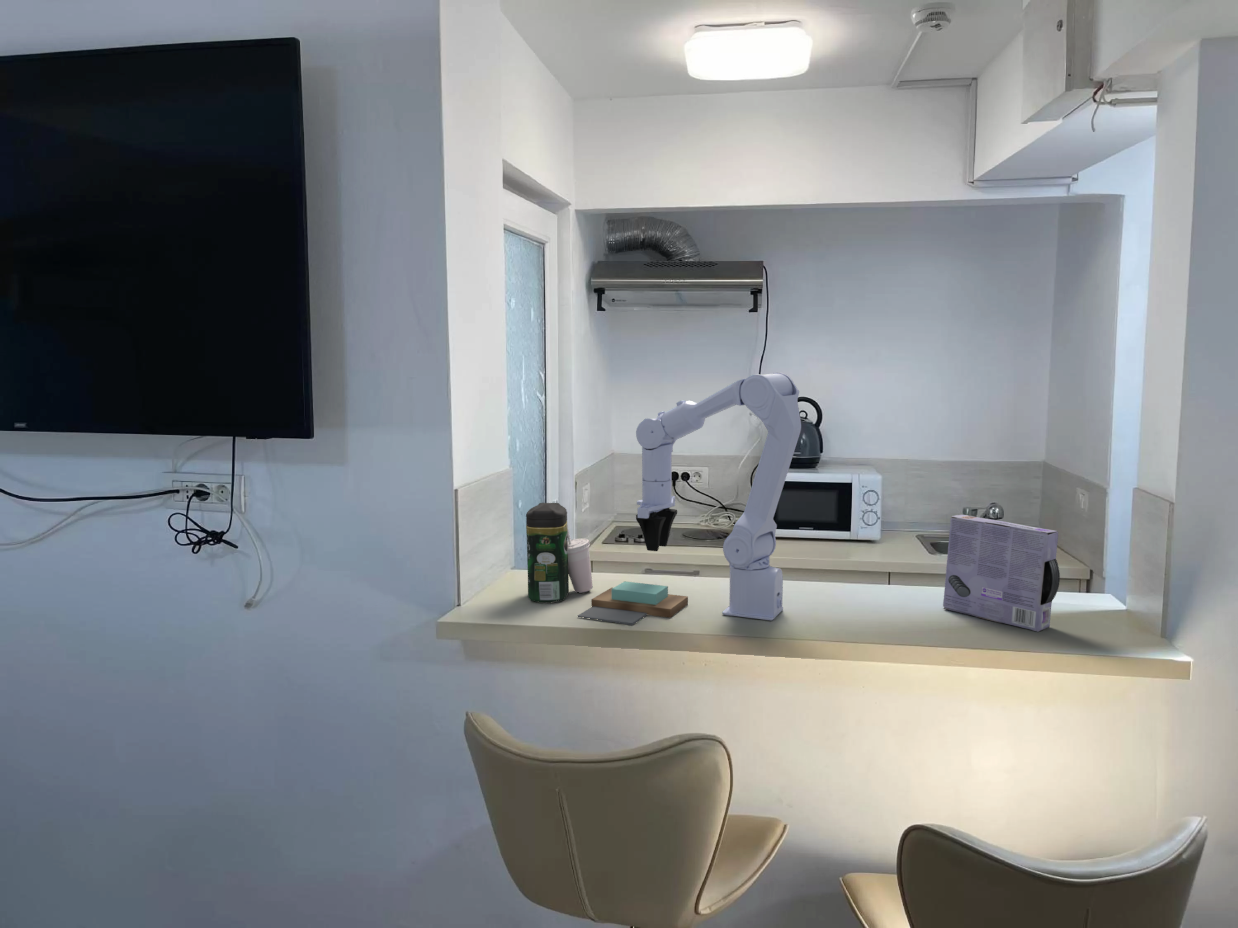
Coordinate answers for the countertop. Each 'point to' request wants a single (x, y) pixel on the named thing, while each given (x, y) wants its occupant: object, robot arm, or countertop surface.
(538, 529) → the coffee jar
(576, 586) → the smoothie
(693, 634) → the countertop surface
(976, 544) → the cake pan box
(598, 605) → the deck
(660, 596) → the teal rectangular block
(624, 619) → the mat
